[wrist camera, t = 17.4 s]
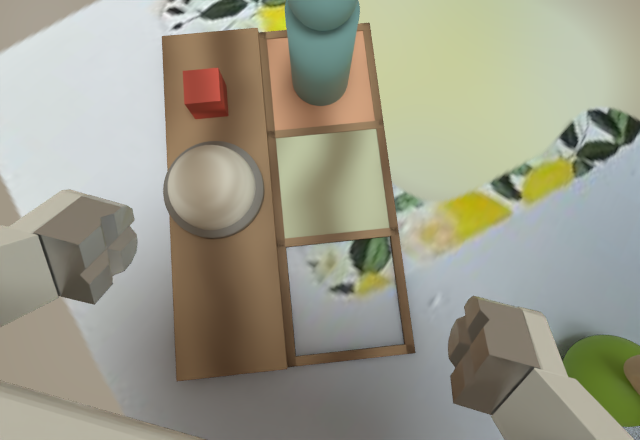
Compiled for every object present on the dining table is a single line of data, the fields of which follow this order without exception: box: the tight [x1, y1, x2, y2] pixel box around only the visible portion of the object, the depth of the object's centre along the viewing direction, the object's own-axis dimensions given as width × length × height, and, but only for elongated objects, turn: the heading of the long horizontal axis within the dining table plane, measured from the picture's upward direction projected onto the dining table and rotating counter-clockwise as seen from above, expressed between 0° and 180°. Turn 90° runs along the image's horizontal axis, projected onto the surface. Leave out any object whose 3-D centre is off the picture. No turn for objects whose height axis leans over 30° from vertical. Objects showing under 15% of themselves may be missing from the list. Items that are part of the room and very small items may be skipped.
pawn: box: [285, 0, 360, 106], centre depth 25 cm, size 4×4×12 cm
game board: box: [162, 23, 415, 381], centre depth 28 cm, size 16×26×6 cm, turn 6°
